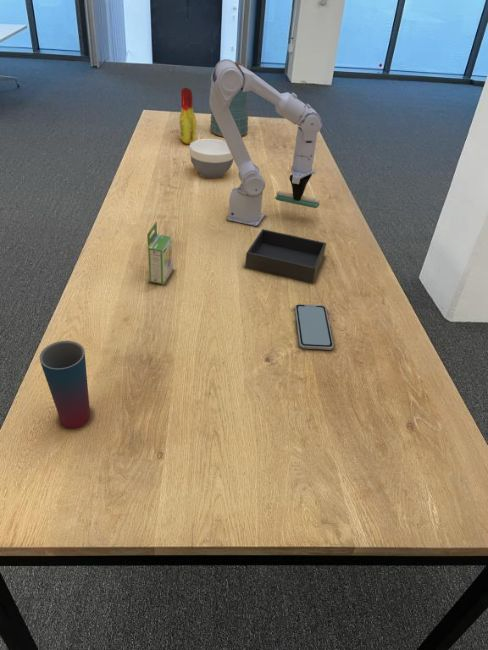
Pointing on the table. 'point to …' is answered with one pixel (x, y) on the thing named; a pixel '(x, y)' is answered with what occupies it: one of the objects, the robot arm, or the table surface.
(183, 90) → the bottle
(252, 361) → the table surface
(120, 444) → the table surface
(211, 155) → the bowl
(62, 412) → the cup
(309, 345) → the smartphone
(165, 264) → the ink box
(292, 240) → the bin
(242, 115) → the vase
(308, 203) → the straws
